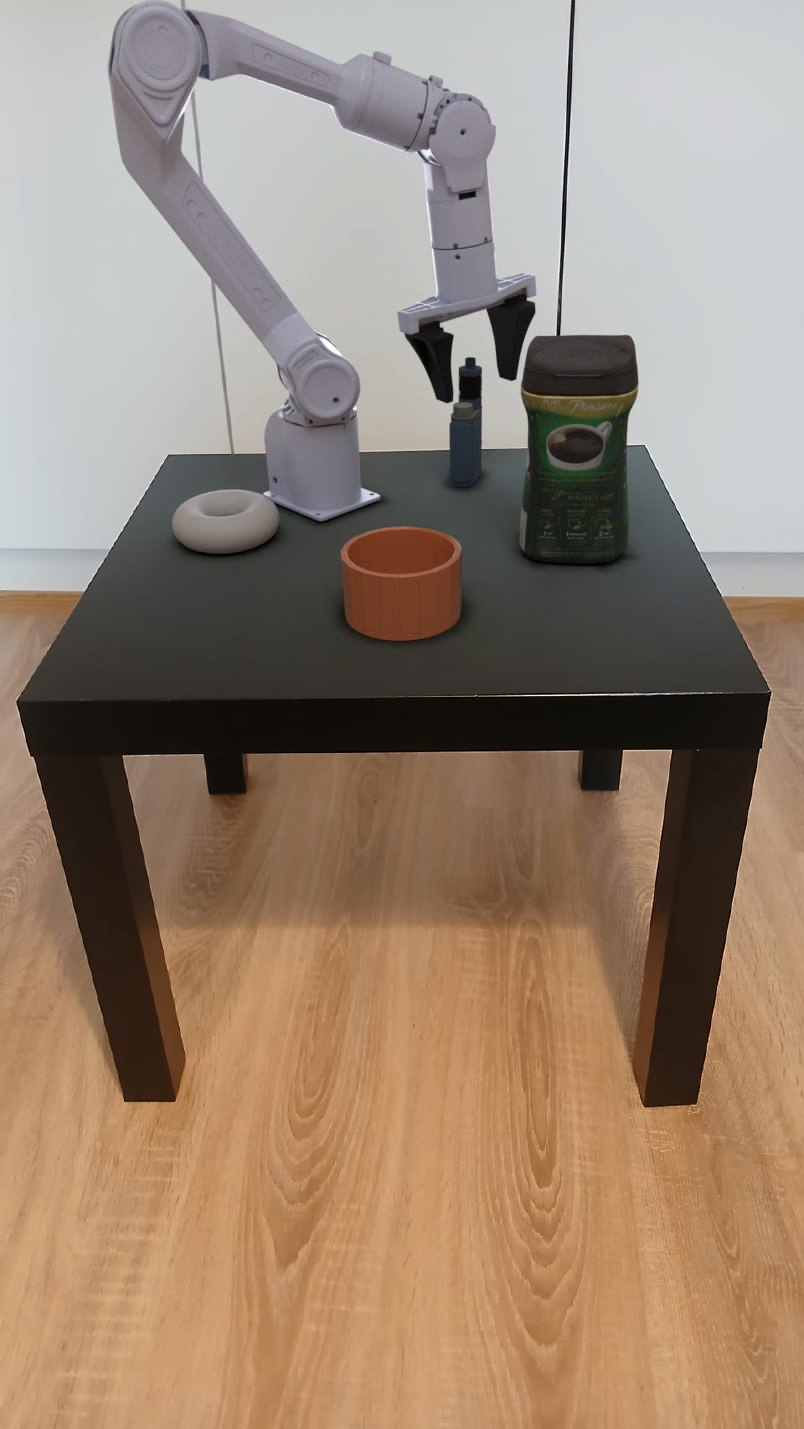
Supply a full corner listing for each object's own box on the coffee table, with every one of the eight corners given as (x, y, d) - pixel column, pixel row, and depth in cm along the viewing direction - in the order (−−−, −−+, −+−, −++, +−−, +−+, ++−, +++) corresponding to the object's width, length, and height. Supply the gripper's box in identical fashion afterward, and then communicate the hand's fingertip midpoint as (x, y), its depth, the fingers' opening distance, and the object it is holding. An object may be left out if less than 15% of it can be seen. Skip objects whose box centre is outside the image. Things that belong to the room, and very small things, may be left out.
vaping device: (484, 471, 112) (486, 355, 105) (470, 489, 108) (471, 370, 101) (461, 469, 113) (461, 354, 106) (446, 487, 108) (446, 368, 102)
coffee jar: (626, 530, 97) (643, 322, 87) (627, 569, 91) (645, 350, 80) (521, 527, 99) (525, 323, 88) (514, 566, 92) (518, 350, 82)
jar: (321, 613, 86) (316, 551, 83) (405, 576, 91) (403, 517, 88) (400, 653, 80) (397, 588, 77) (485, 611, 85) (486, 549, 82)
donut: (158, 558, 96) (262, 562, 94) (151, 522, 94) (258, 526, 92) (197, 515, 104) (294, 519, 102) (192, 482, 102) (290, 484, 101)
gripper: (501, 220, 102) (511, 361, 110) (372, 256, 97) (393, 401, 104) (546, 227, 97) (554, 374, 104) (413, 265, 91) (432, 417, 99)
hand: (476, 389), depth 104 cm, fingers open, 7 cm apart
